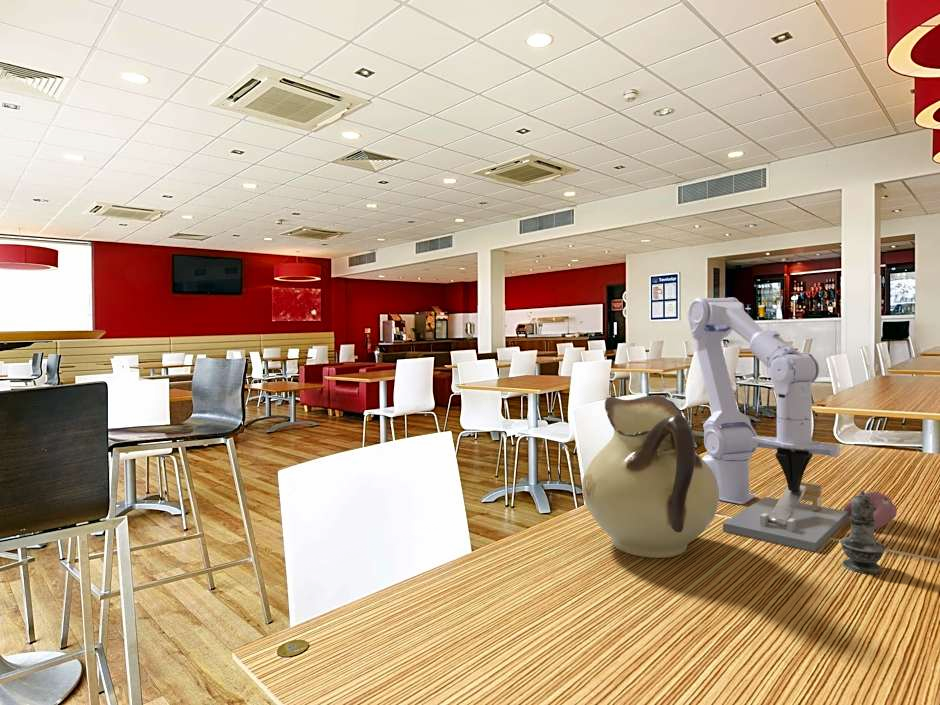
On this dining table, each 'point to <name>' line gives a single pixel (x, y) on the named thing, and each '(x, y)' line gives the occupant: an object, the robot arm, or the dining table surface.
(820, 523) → the base board
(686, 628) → the dining table surface
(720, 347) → the robot arm
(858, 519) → the grey stone finial
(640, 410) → the pitcher
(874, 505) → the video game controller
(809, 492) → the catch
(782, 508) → the silver flat bar
